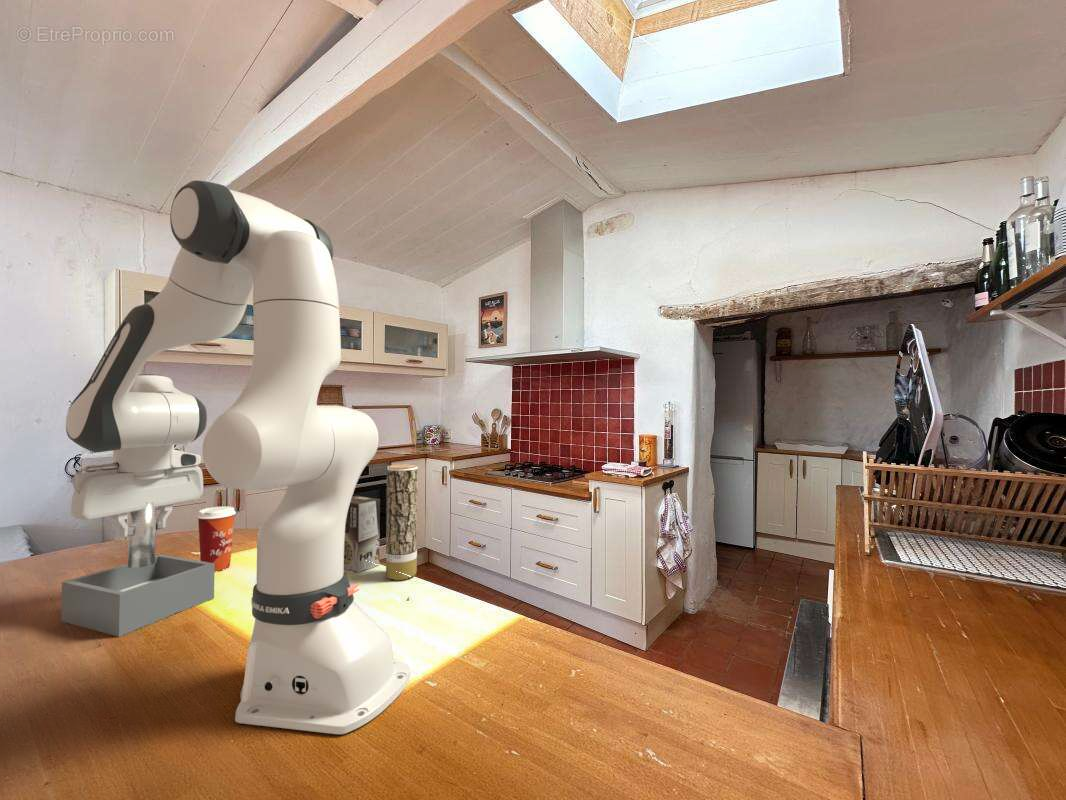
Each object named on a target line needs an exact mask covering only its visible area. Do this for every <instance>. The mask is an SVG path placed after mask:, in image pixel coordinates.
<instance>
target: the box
mask: <svg viewBox="0 0 1066 800" xmlns="http://www.w3.org/2000/svg"><path fill="white" fill-rule="evenodd" d="M214 568H215V563H209V562H203V561H201V560H197V559H189V558H186V557H185V558H183V557H179V556H174V555H173V556H172V555H167V554H157V555H155V563H154V564H152V565H149V566H145V567H139V568H129V567H128V563H126V564H125V563H124V564H121V565H118V566H114V567H110V568H106V569H104V570H101V571H96V572H94V573H93V572H92V573H90V574H89V573H88V574H86V575H82V576H78V577H75V578H72V579H71V578H70V579H69V580H65V581H62V582H61V611H60V612H61V617H60V618H61V619H60V621H61V622H62V623H66V624H70V625H74V626H77V627H81V628H83V629H88V630H92V631H96V632H100V633H104V634H107V635H111V636H114V637H119V638H120V637H122V636H125V635H127V634H129V633H130V634H131V632H132V633H133V632H135V631H137V630H139V628H140V629H142V628H145V627H147V626H149V624H150V625H151V624H154V622H155V623H157V622H159V620H160V621H162V620H164V619H167V618H169V617H171V616H170V615H172V616H174V615H176V614H175V613H177V612H179V613H181V612H180V611H182V610H184V611H186V610H185V609H187V610H189V609H191V608H190V607H192V608H194V607H196V605H197V606H199V605H202V604H204V603H206V602H209V601H211V600H213V598H214V599H215V572H214ZM210 599H211V600H210ZM208 600H209V601H208ZM205 601H206V602H205ZM203 602H204V603H203ZM198 604H199V605H198ZM193 606H194V607H193ZM188 608H189V609H188ZM182 612H183V611H182ZM173 614H174V615H173ZM177 614H178V613H177ZM168 616H169V617H168ZM166 617H167V618H166ZM161 619H162V620H161ZM156 621H157V622H156ZM146 625H147V626H146ZM144 626H145V627H144ZM141 627H142V628H141ZM136 629H137V630H136ZM134 630H135V631H134ZM124 634H125V635H124Z"/></svg>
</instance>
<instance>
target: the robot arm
mask: <svg viewBox="0 0 1066 800" xmlns="http://www.w3.org/2000/svg"><path fill="white" fill-rule="evenodd" d="M169 218H170V219H169V221H170V228H171V229H170V230H171V232H172V235H173V237H174V238H175V240H176V241H177V242H178V244H179V246H181V247H180V249H179V251H178V253H177V255H176V256H175V260H174V263H173V265H172V268H171V271H170V273H169V276H168V279H167V282H166V284H165V286H164V287H163V288H162V290H161V291H160V292H159V293H158V294H157V295H155V297H154V298H152V299H150V301H148V302H146V303H145V304H141V305H137V306H134V307H133V308H132V309H131V310H130V311H129V312H128V313H127V315H125V318H124V319H122V321H121V324H120V325H119V326H118V328H117V330H116V331H115V333H114V335H113V336H112V338H111V340H110V342H109V343H108V346H107V347H106V349H105V351H104V353H103V354H102V356H101V358H100V360H99V362H98V364H97V366H96V367H95V369H94V371H93V373H92V374H91V376H90V377H89V380H88V381H87V383H86V385H85V386H84V387H83V389H82V390H81V391H80V392H79V393H78V395H76V397H75V398H74V399H73V401H72V402H71V404H70V406H69V408H68V410H67V414H66V417H65V430H66V435H67V437H68V438H69V440H71V441H72V442H73V443H75V444H76V445H77V446H79V447H81V448H83V449H84V450H88V451H89V452H92V453H104V452H111V451H112V463H103V464H97V465H95V464H91V465H86V466H84V468H82V469H79V470H77V472H76V473H74V475H73V489H74V491H73V493H72V500H71V504H70V515H71V516H72V517H73V518H74V519H76V520H81V521H93V520H97V519H102V518H107V517H110V520H111V522H113V524H114V525H115V526H116V527H117V528H118V530H117V533H118V537H119V538H121V539H124V538H128V537H129V536H133V534H134V532H133V530H134V526H128V525H129V524H127V523H126V521H125V520H127V519H128V514H129V512H134V511H140V510H143V509H144V508H145V507H146V502H152V501H153V505H154V507H157V510H158V511H159V513H158V514H157V515H156V531H159V530H163V529H165V528H166V524H167V523H166V521H167V520H168V518H169V516H170V515H171V513H172V511H173V505H175V504H181V503H186V502H192V501H196V500H199V499H200V498H201V497H202V496H203V493H204V475H203V471H202V469H201V468H200V466H199V465H200V464H201V461H202V459H203V463H204V465H205V467H206V470H207V472H208V473H209V475H210V476H211V477H212V479H213V480H214V481H216V483H218V484H219V485H221V486H222V487H224V488H226V489H230V490H246V491H247V490H251V491H253V490H254V491H256V490H257V491H258V490H259V491H261V490H262V491H263V490H264V491H267V490H272V489H273V490H274V489H277V488H278V489H279V488H282V487H283V488H284V487H286V489H285V492H284V494H283V497H282V499H281V500H280V503H279V504H278V505H277V507H276V509H275V510H274V511H273V512H272V513H270V514H269V515H268V516H267V517H266V519H265V520H264V521H263V522H262V523H261V525H260V527H259V530H258V533H257V537H256V539H257V541H256V583H255V585H253V587H252V596H251V601H250V602H251V614H252V617H253V618H254V625H253V630H252V634H251V637H250V640H249V645H248V646H247V647H248V648H247V655H246V661H245V662H246V663H245V669H244V671H245V672H244V676H243V677H244V679H243V684H242V687H241V690H240V695H239V696H240V702H239V703H238V705H237V708H236V710H235V714H234V715H235V717H234V722H235V723H238V724H245V725H253V726H263V727H269V728H279V729H280V728H281V729H288V730H296V731H297V730H298V731H305V732H315V733H320V734H321V733H323V734H332V735H346V734H348V733H350V732H352V731H354V730H358V728H361V727H362V726H364V725H365V724H368V723H369V722H370V721H372V720H373V719H374V718H376V717H377V716H378V715H380V714H381V713H382V712H383V711H385V710H386V709H387V708H388V707H389V706H390V705H391V704H392V703H393V702H394V701H395V700H396V699H398V697H399V696H400V694H401V693H402V692H403V691H404V689H405V688H406V687H407V685H408V682H409V680H410V675H411V671H410V666H409V665H408V664H406V663H404V662H402V661H400V660H398V659H395V658H394V654H393V647H392V641H391V638H390V635H389V634H388V633H387V631H385V629H383V628H382V627H381V626H380V625H379V622H377V621H376V620H374V619H373V618H372V617H370V616H369V615H368V614H367V613H366V612H365V611H364V610H363V609H362V608H361V607H360V606H359V605H358V604H357V603H356V602H355V600H354V599H355V598H354V594H355V593H357V592H359V591H360V588H358V586H360V582H356V583H355V584H353V585H352V586H351V583H350V581H349V579H348V575H347V573H346V571H345V570H344V569H345V568H344V541H345V524H346V518H347V513H348V509H349V505H350V502H351V498H352V496H353V495H354V492H355V489H356V486H357V484H358V482H359V480H360V477H361V475H362V473H363V472H364V470H365V468H366V466H367V465H368V464H369V463H370V461H372V459H373V458H374V456H376V452H377V451H378V449H379V448H378V447H379V442H380V439H379V431H378V428H377V425H376V423H375V421H374V419H372V418H371V417H370V416H369V415H368V414H367V413H365V412H363V411H361V410H358V409H354V408H351V407H347V406H343V405H328V404H327V405H321V404H320V405H318V398H319V393H320V389H321V386H322V384H323V382H324V380H325V378H326V377H327V376H328V375H330V374H332V373H333V372H334V371H335V370H337V368H338V367H339V366H340V364H341V361H342V345H341V343H342V340H341V338H342V337H341V320H340V319H341V317H340V316H341V315H340V313H341V312H340V300H339V290H338V283H337V277H336V273H335V268H334V264H333V260H334V259H333V258H334V247H333V244H332V240H331V238H330V236H329V234H328V233H327V232H326V231H325V230H323V229H322V228H321V227H320V226H319V225H317V224H316V223H314V222H312V221H310V220H308V219H305V218H301V217H299V216H297V215H296V214H293V213H291V212H289V211H287V210H285V209H283V208H281V207H279V206H276V205H274V204H273V203H271V202H269V201H267V200H264V199H262V198H259V197H258V196H257V197H256V196H253V195H250V194H248V193H244V192H240V191H237V190H234V189H229V188H228V186H225V185H223V184H219V183H215V182H210V181H206V180H197V179H196V180H191V181H189V182H188V183H187V184H184V185H183V186H182V187H180V189H178V191H177V192H176V194H175V196H174V198H173V201H172V204H171V209H170V217H169ZM251 294H252V308H253V309H252V310H253V311H252V313H253V314H252V315H253V353H252V355H253V356H252V363H251V368H250V371H249V375H248V377H247V380H246V383H245V385H244V387H243V389H242V391H241V392H240V394H239V395H238V397H237V399H236V400H235V401H234V403H233V404H231V406H229V408H228V409H226V411H224V412H223V413H222V414H220V415H218V416H217V418H215V419H214V420H213V422H212V423H211V424H210V425H209V427H208V428H207V431H206V433H205V435H204V438H203V441H202V442H203V443H202V449H201V450H202V457H201V455H199V454H197V453H192V452H191V453H190V452H186V451H183V450H177V449H175V446H177V445H184V444H189V443H192V442H195V441H196V440H197V439H198V438H199V437H200V436H201V435H202V434H203V433H204V431H205V430H206V427H207V419H208V418H207V416H208V415H207V409H206V406H205V404H204V403H203V402H202V401H201V400H200V399H199V398H198V397H196V396H195V395H193V394H188V393H186V392H182V391H181V390H179V388H178V389H177V388H176V387H175V386H174V381H173V380H172V379H171V378H170V377H168V376H164V375H162V374H152V373H151V374H149V373H148V374H147V373H143V374H140V373H141V371H142V369H143V368H144V366H145V364H146V362H148V361H149V360H150V359H152V358H153V357H154V356H155V355H157V354H159V353H162V352H165V351H168V350H170V349H174V348H175V349H176V348H178V347H181V346H182V347H183V346H188V345H193V344H201V343H202V344H203V343H209V342H212V341H215V340H219V339H221V338H223V337H226V336H227V335H229V334H230V333H232V332H233V331H234V330H235V329H236V328H237V327H238V325H239V324H240V322H241V321H242V319H243V317H244V314H245V311H246V309H247V306H248V303H249V300H250V297H251Z"/></svg>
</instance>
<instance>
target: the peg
mask: <svg viewBox="0 0 1066 800" xmlns="http://www.w3.org/2000/svg"><path fill="white" fill-rule="evenodd" d="M157 510H158V507H154V505H153V501H152V502H146V507H145V508H144V509H143V510H140V511H134V512H129V513H128V524H127V525H128V526H134V530H133V532H134V534H133V536H129V537H127V564H128V567H129V568H139V567H145V566H149V565H152V564H154V563H155V556H156V547H157V546H156V545H157V530H156V518H157Z"/></svg>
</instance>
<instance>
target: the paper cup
mask: <svg viewBox="0 0 1066 800" xmlns="http://www.w3.org/2000/svg"><path fill="white" fill-rule="evenodd" d="M236 514H237V512H236V511H235V507H233V506H230V505H229V506H227V505H226V506H213V507H212V506H211V507H207V508H202V509H200V510H199V511H198V514H197V515H196V518H197V521H198V538H199V555H200V561H203V562H209V563H215V568H214V573H216V572H215V571H218V572H221V571H220V570H222V571H224V570H223V569H225V570H227V569H229V568H230V567H231V558H232V551H233V549H232V547H233V537H234V536H233V535H234V523H235V515H236ZM229 566H230V567H229ZM228 567H229V568H228ZM226 568H227V569H226Z"/></svg>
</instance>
